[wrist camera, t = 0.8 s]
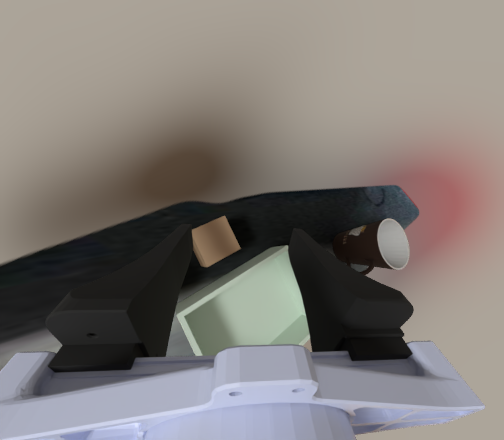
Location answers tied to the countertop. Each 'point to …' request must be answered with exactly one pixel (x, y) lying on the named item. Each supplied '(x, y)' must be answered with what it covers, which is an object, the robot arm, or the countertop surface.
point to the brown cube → (214, 241)
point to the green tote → (247, 307)
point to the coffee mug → (374, 246)
